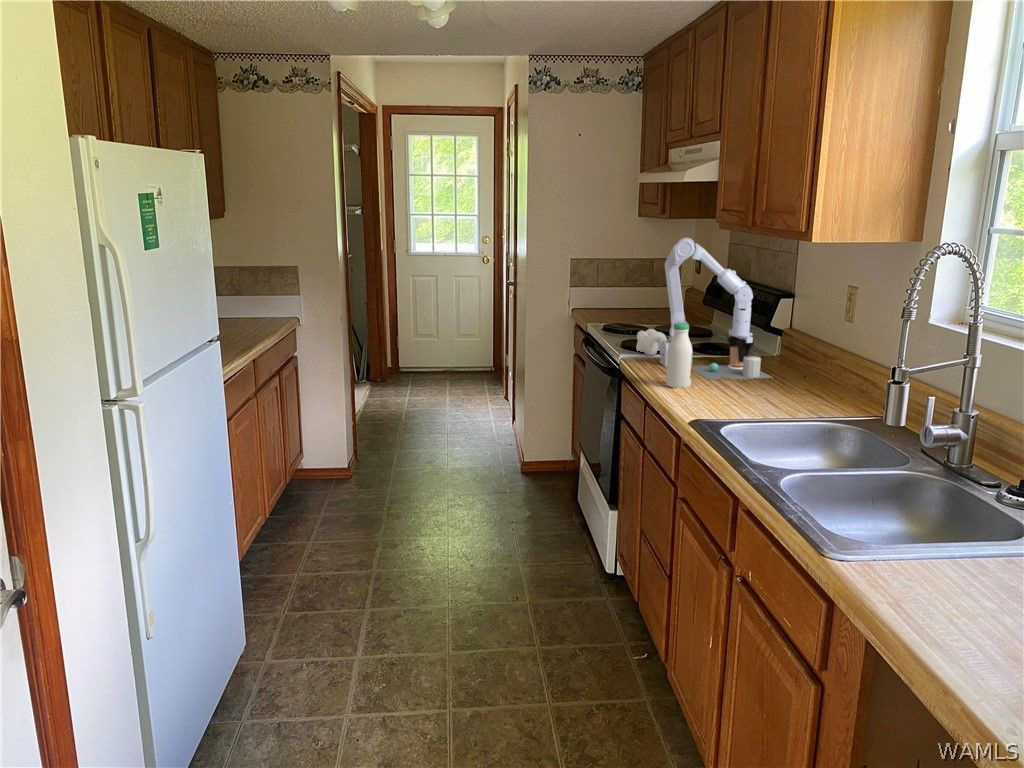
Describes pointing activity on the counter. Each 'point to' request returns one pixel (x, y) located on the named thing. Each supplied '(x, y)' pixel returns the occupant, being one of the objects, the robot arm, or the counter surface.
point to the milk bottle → (679, 358)
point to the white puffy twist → (650, 341)
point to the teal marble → (714, 367)
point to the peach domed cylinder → (734, 356)
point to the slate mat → (725, 372)
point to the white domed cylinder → (751, 366)
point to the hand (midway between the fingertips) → (738, 359)
